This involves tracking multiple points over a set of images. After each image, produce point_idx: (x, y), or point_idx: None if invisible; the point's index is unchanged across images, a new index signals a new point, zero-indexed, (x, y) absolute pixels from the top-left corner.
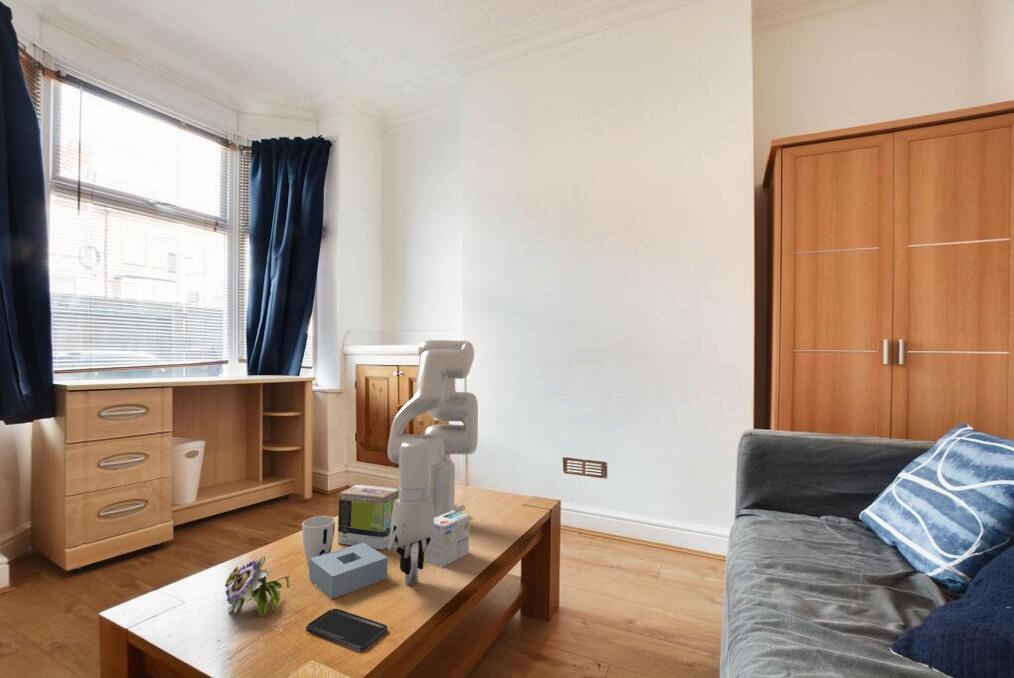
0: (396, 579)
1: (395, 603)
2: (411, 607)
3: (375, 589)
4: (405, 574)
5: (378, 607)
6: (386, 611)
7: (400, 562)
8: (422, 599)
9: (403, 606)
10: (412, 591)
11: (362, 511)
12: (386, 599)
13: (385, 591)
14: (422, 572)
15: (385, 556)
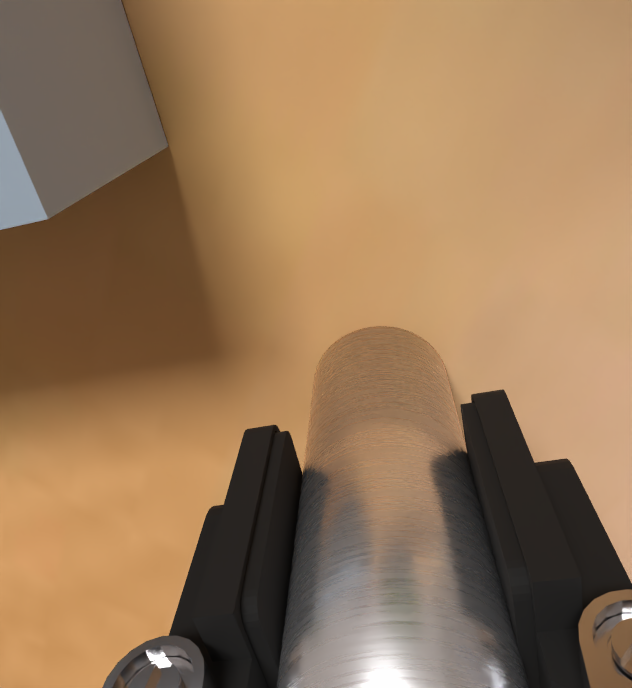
0: (263, 236)
1: (144, 579)
2: None
3: (11, 321)
4: (309, 427)
5: (16, 564)
6: (66, 622)
7: (194, 573)
8: None
9: None
10: None
11: None
12: (88, 508)
13: (100, 400)
14: (609, 237)
15: (5, 156)
